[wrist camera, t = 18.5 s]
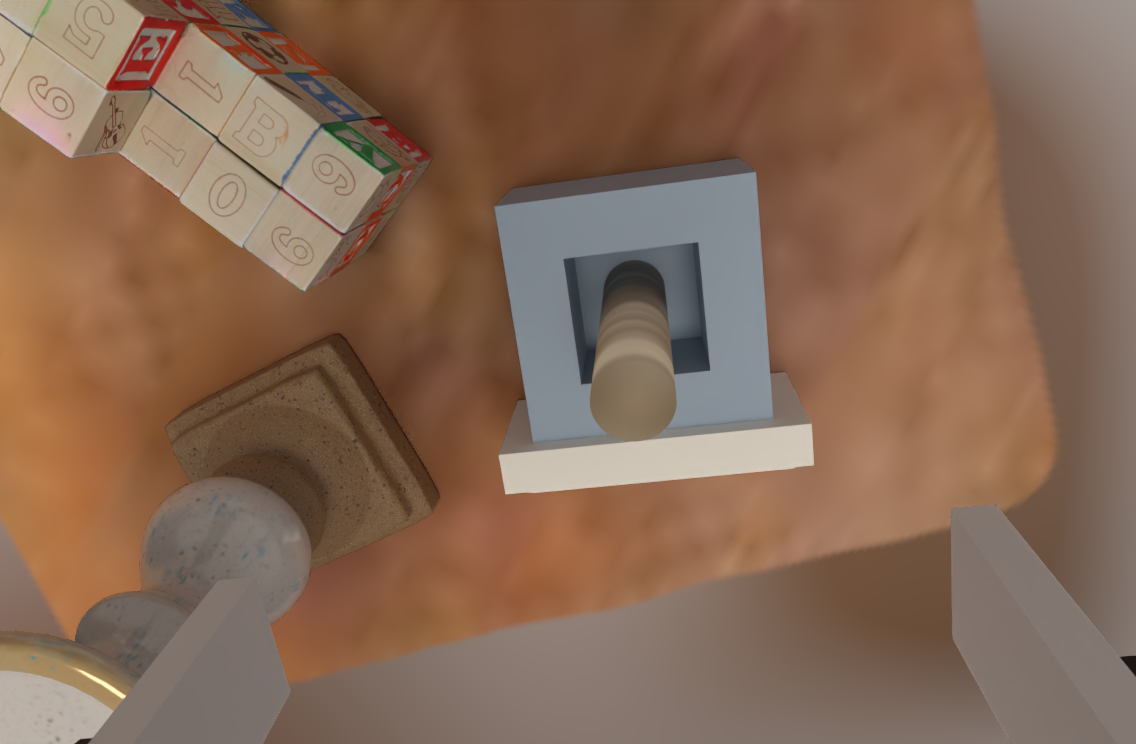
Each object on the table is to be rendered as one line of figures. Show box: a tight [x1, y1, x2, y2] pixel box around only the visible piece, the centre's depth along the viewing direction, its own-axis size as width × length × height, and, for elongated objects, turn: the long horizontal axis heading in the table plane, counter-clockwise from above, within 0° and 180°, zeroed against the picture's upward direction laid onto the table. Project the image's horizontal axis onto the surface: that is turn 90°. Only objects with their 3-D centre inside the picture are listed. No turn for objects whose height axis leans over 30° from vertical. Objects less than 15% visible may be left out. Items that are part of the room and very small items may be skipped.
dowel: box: [590, 260, 677, 442], centre depth 37 cm, size 3×3×14 cm
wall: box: [499, 372, 814, 494], centre depth 43 cm, size 5×14×7 cm, turn 98°
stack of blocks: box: [0, 0, 432, 292], centre depth 36 cm, size 21×6×12 cm, turn 52°
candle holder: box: [0, 334, 439, 744], centre depth 37 cm, size 11×11×24 cm
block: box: [494, 158, 773, 443], centre depth 41 cm, size 11×11×6 cm
